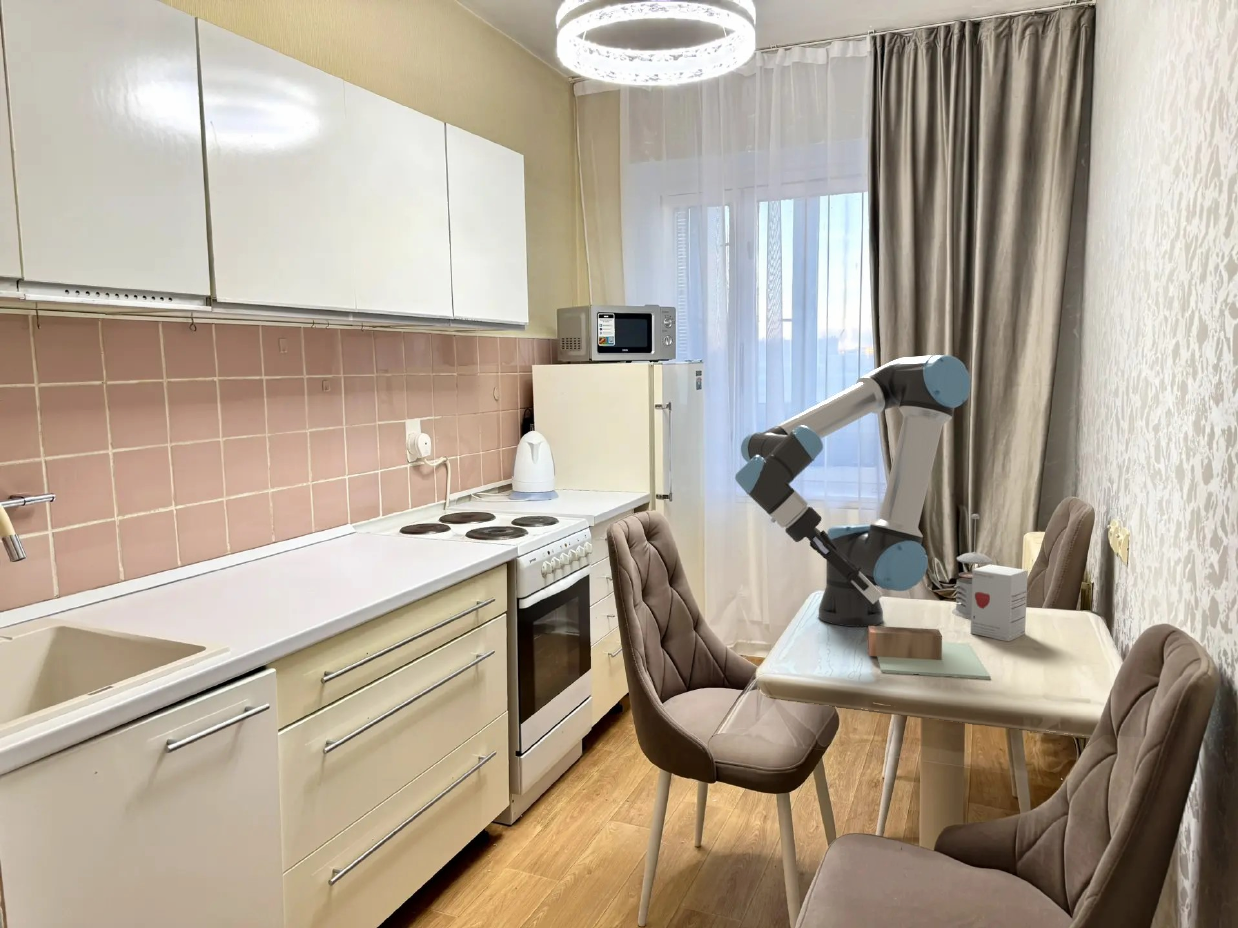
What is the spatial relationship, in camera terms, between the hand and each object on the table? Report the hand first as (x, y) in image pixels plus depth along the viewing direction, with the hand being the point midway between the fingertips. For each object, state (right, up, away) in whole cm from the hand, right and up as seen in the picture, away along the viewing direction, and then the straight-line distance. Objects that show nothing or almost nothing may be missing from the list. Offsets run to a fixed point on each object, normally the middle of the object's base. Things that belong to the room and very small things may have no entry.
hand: (877, 598), depth 174 cm
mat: (+10, -12, -1) cm, 16 cm away
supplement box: (+32, -11, +16) cm, 38 cm away
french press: (+34, -9, +33) cm, 48 cm away
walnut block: (-1, -9, +1) cm, 9 cm away
